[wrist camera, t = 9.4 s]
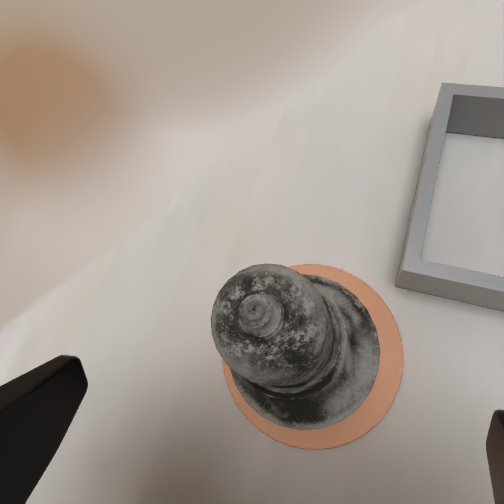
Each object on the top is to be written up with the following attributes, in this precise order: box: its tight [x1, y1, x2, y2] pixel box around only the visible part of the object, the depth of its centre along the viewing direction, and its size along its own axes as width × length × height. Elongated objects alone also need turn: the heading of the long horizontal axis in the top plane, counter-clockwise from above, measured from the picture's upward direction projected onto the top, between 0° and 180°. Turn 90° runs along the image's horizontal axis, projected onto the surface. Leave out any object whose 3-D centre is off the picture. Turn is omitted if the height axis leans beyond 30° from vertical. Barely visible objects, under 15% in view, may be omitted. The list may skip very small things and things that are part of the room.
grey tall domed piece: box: [211, 264, 380, 430], centre depth 14 cm, size 6×6×12 cm
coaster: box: [222, 264, 403, 449], centre depth 20 cm, size 8×8×1 cm
